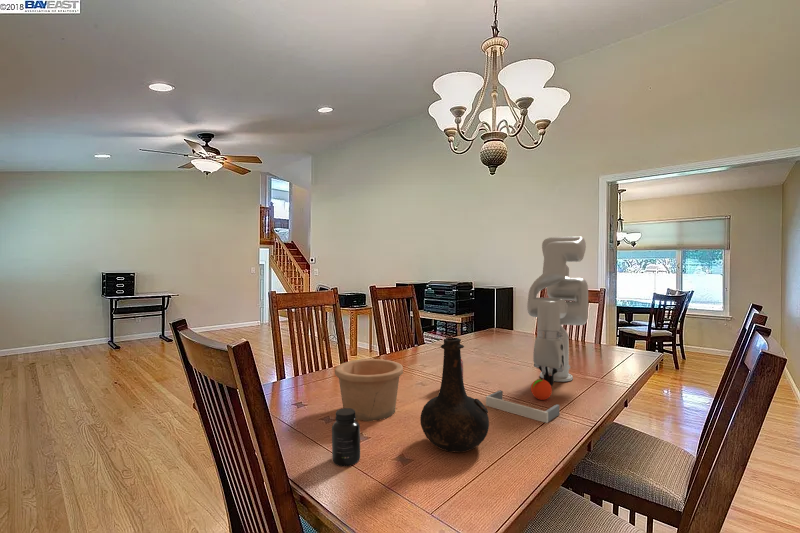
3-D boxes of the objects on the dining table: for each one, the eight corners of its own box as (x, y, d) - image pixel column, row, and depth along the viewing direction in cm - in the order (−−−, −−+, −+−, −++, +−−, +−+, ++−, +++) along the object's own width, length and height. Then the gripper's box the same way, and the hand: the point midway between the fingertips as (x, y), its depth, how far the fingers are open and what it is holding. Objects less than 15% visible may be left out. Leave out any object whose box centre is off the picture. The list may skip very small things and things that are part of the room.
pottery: (411, 403, 137) (411, 361, 137) (389, 429, 116) (388, 379, 116) (354, 396, 144) (353, 356, 144) (322, 419, 123) (322, 373, 123)
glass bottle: (490, 463, 96) (489, 346, 95) (416, 458, 99) (415, 344, 99) (487, 432, 113) (487, 333, 113) (424, 428, 117) (423, 332, 116)
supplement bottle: (333, 454, 101) (332, 406, 101) (360, 452, 102) (360, 405, 102) (330, 468, 95) (330, 417, 94) (360, 466, 95) (359, 416, 95)
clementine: (541, 404, 135) (541, 383, 134) (524, 398, 140) (524, 378, 140) (556, 400, 139) (556, 379, 139) (539, 394, 145) (539, 375, 145)
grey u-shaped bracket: (500, 398, 141) (499, 390, 141) (559, 414, 126) (559, 405, 126) (485, 405, 134) (485, 396, 134) (546, 423, 119) (546, 413, 119)
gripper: (573, 335, 141) (573, 388, 141) (533, 331, 152) (533, 379, 152) (565, 338, 136) (565, 392, 136) (524, 333, 146) (524, 383, 146)
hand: (548, 385), depth 144 cm, fingers closed
